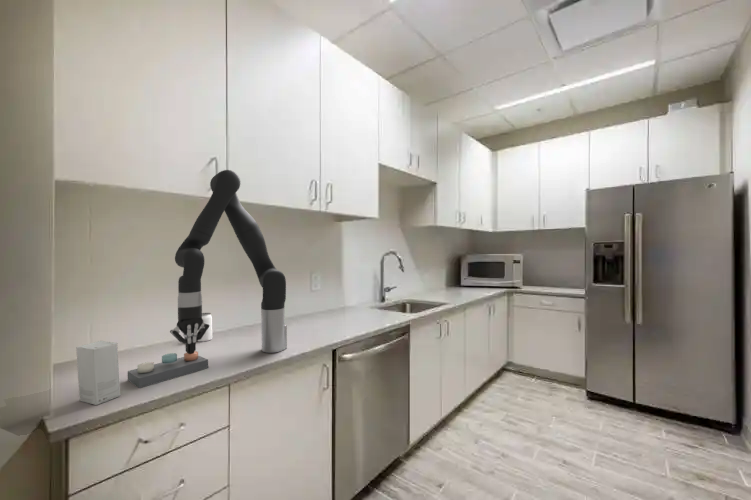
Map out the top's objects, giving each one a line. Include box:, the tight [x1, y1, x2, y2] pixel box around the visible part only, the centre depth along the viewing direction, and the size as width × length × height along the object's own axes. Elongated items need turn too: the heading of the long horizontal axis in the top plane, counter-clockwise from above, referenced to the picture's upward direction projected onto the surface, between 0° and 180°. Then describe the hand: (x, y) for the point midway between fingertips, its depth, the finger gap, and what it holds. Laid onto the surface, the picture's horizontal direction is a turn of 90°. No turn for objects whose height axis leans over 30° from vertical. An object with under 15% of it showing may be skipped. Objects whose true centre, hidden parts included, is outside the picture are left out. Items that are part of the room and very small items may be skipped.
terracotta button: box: [183, 350, 199, 361], centre depth 120 cm, size 4×4×2 cm
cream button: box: [136, 361, 155, 373], centre depth 109 cm, size 4×4×2 cm
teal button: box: [161, 352, 178, 364], centre depth 114 cm, size 4×4×2 cm
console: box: [127, 355, 209, 389], centre depth 114 cm, size 21×10×3 cm, turn 143°
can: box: [196, 312, 213, 343], centre depth 155 cm, size 6×6×12 cm
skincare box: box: [75, 340, 121, 406], centre depth 96 cm, size 8×7×16 cm
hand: (190, 353), depth 120 cm, fingers closed
